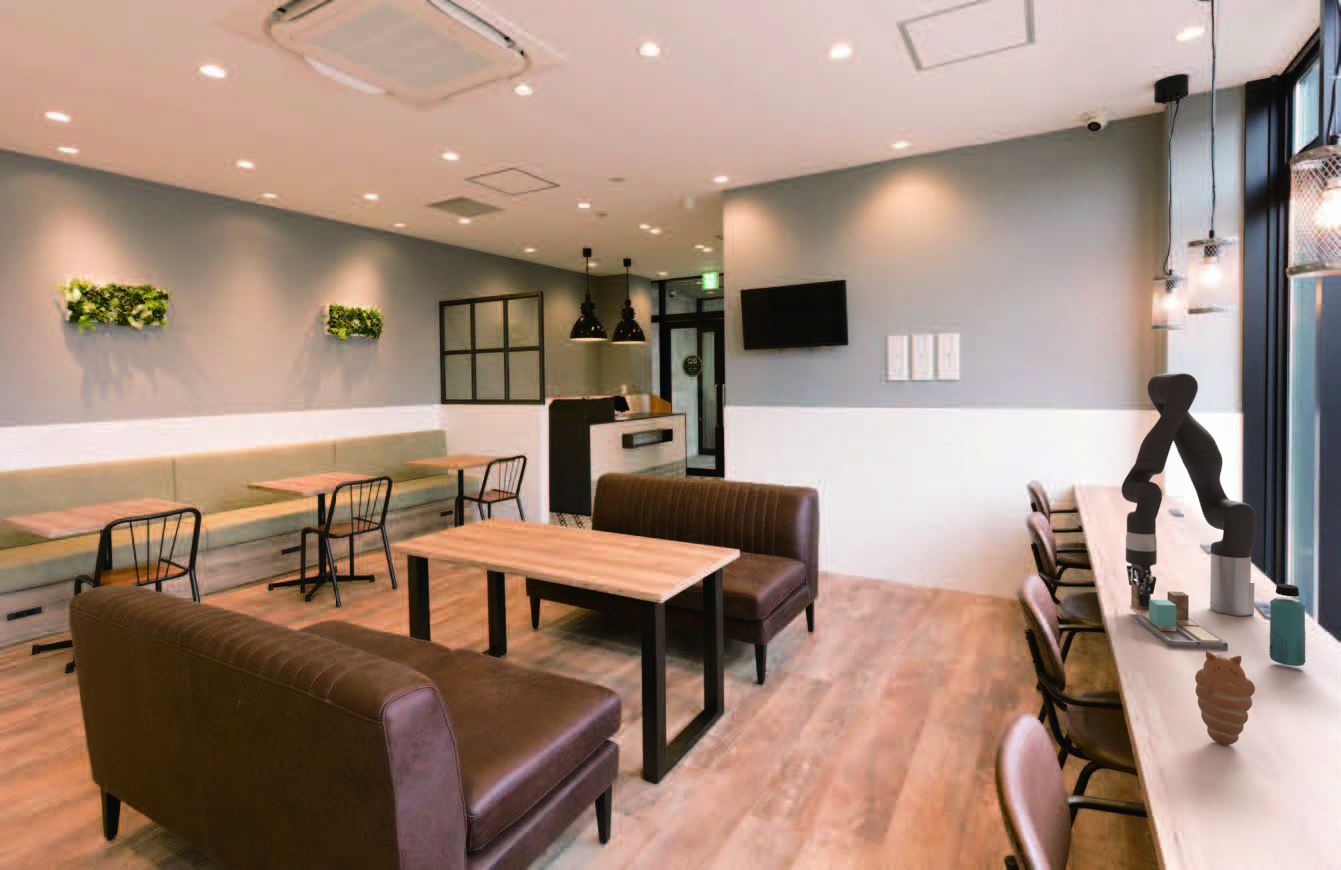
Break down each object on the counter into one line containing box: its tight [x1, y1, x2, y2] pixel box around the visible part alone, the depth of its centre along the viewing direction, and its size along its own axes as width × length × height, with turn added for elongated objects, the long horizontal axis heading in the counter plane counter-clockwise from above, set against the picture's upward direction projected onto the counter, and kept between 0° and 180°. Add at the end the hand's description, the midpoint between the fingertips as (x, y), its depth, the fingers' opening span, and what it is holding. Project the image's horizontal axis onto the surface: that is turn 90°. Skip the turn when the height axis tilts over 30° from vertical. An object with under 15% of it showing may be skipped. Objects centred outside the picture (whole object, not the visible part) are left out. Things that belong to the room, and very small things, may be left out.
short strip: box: [1167, 591, 1197, 628], centre depth 188 cm, size 4×8×8 cm, turn 166°
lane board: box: [1134, 613, 1229, 651], centre depth 183 cm, size 13×21×2 cm, turn 166°
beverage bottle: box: [1268, 583, 1307, 667], centre depth 160 cm, size 6×7×20 cm
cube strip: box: [1129, 583, 1176, 631], centre depth 192 cm, size 4×19×8 cm, turn 166°
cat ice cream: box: [1194, 650, 1256, 746], centre depth 128 cm, size 9×8×18 cm
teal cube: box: [1149, 599, 1176, 627], centre depth 186 cm, size 5×5×6 cm
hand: (1140, 603), depth 199 cm, fingers closed on cube strip, 3 cm apart
